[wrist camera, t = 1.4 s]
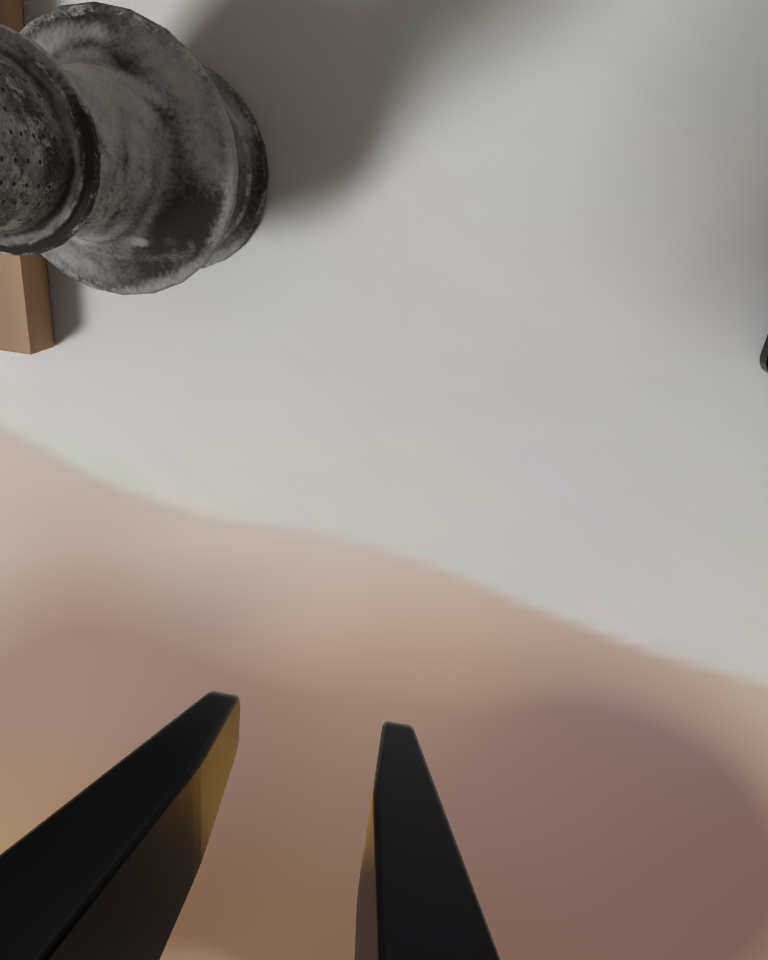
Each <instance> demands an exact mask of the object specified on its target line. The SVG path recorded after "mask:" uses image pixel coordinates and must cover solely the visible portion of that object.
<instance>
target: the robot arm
mask: <svg viewBox="0 0 768 960" xmlns="http://www.w3.org/2000/svg"><path fill="white" fill-rule="evenodd" d="M760 365H761V368H762V369H763V370H764V371H765V372H766V373H768V335H767V338H766V341H765V344H764V346H763V349H762V352H761V355H760ZM239 721H240V700H239V697H238V696H236V695H234V694H228V693H223V692H217V691H212V692H209V693H208V694H206V695H205V696H204V697H202V698H201V699H200V700H198V701H197V702H196V703H194V704H193V705H192V706H191V707H189V708H188V709H187V710H186V711H184V712H183V713H182V714H181V715H179V716H178V717H177V718H175V719H174V720H173V721H171V722H170V723H169V724H168V725H166V726H165V727H164V728H162V729H161V730H160V731H159V732H157V733H156V734H155V735H154V736H152V737H151V738H150V739H148V740H147V741H146V742H144V743H143V744H142V745H141V746H139V747H138V748H137V749H135V750H134V751H133V752H132V753H130V754H129V755H128V756H127V757H125V758H124V759H123V760H121V761H120V762H119V763H117V764H116V765H115V766H114V767H112V768H111V769H110V770H109V771H107V772H106V773H105V774H103V775H102V776H101V777H100V778H98V779H97V780H96V781H94V782H93V783H92V784H91V785H89V786H88V787H87V788H85V789H84V790H83V791H82V792H80V793H79V794H78V795H76V796H75V797H74V798H73V799H71V800H70V801H69V802H67V803H66V804H65V805H64V806H62V807H61V808H60V809H58V810H57V811H56V812H55V813H53V814H52V815H51V816H50V817H48V818H47V819H46V820H44V821H43V822H42V823H41V824H39V825H38V826H37V827H35V828H34V829H33V830H32V831H30V832H29V833H28V834H27V835H25V836H24V837H23V838H21V839H20V840H19V841H17V842H16V843H15V844H14V845H12V846H11V847H10V848H9V849H7V850H6V851H5V852H3V853H2V854H1V855H0V960H160V957H161V955H162V952H163V950H164V948H165V946H166V944H167V941H168V939H169V937H170V934H171V932H172V930H173V928H174V925H175V923H176V921H177V918H178V916H179V914H180V912H181V909H182V907H183V905H184V902H185V900H186V898H187V895H188V893H189V891H190V889H191V886H192V884H193V881H194V879H195V877H196V874H197V872H198V869H199V867H200V864H201V862H202V859H203V856H204V853H205V850H206V847H207V844H208V841H209V838H210V835H211V831H212V828H213V825H214V822H215V819H216V816H217V812H218V809H219V806H220V803H221V800H222V797H223V794H224V790H225V787H226V784H227V781H228V778H229V774H230V771H231V768H232V765H233V762H234V759H235V755H236V752H237V747H238V742H239ZM355 960H500V957H499V955H498V952H497V949H496V947H495V944H494V942H493V939H492V936H491V933H490V931H489V928H488V925H487V923H486V921H485V917H484V915H483V912H482V910H481V907H480V904H479V902H478V899H477V896H476V894H475V891H474V888H473V886H472V883H471V880H470V878H469V875H468V872H467V870H466V867H465V864H464V862H463V859H462V856H461V854H460V851H459V849H458V846H457V843H456V840H455V838H454V835H453V832H452V830H451V827H450V825H449V822H448V819H447V816H446V814H445V811H444V809H443V806H442V803H441V801H440V798H439V795H438V792H437V790H436V787H435V785H434V782H433V780H432V777H431V774H430V771H429V768H428V766H427V763H426V761H425V758H424V755H423V753H422V750H421V747H420V745H419V742H418V739H417V737H416V734H415V731H414V729H413V728H412V727H411V726H410V725H406V724H400V723H395V722H388V721H387V722H385V723H384V724H383V726H382V733H381V739H380V746H379V752H378V759H377V766H376V772H375V778H374V785H373V792H372V798H371V805H370V811H369V818H368V824H367V831H366V838H365V844H364V851H363V857H362V864H361V870H360V878H359V886H358V896H357V911H356V934H355Z"/></svg>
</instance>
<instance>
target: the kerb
mask: <svg viewBox="0 0 768 960" xmlns="http://www.w3.org/2000/svg"><path fill="white" fill-rule="evenodd" d="M0 24H1V25H5V26H7V27H9V28H11V29H13V30H15V31H17V32H20V31H21V30H22V29H23V28H24V21H23V11H22V0H0ZM51 347H54V337H53V327H52V316H51V305H50V295H49V284H48V274H47V263H46V258H44V257H43V256H42V255H41V254H34V255H19V256H12V255H7V254H3V253H0V350H4V351H10V352H17V353H24V354H34V353H37V352H39V351H42V350H45V349H48V348H51Z"/></svg>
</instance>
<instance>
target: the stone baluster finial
mask: <svg viewBox="0 0 768 960" xmlns="http://www.w3.org/2000/svg"><path fill="white" fill-rule="evenodd" d="M267 184H268V167H267V159H266V151H265V146H264V143H263V140H262V137H261V135H260V132H259V129H258V126H257V124H256V121H255V119H254V117H253V116H252V114H251V112H250V111H249V109H248V108H247V106H246V105H245V103H244V102H243V100H242V99H241V97H240V95H239V94H238V93H237V92H236V91H235V90H234V89H233V88H232V87H230V86H229V85H228V84H227V83H226V82H225V81H224V80H223V79H222V78H221V77H220V76H219V75H218V74H216V73H214V72H212V71H210V70H209V69H207V68H205V67H203V66H202V65H201V64H200V62H199V61H198V59H197V58H196V57H195V56H194V55H193V54H192V53H191V52H190V51H189V50H188V49H187V48H186V47H185V46H184V45H183V44H182V43H181V42H180V41H179V40H177V39H176V38H175V37H174V36H173V35H172V34H171V33H170V32H169V31H168V30H167V29H166V28H164V27H162V26H160V25H158V24H156V23H155V22H153V21H151V20H149V19H147V18H145V17H144V16H142V15H140V14H138V13H136V12H134V11H133V10H131V9H127V8H122V7H118V6H113V5H108V4H103V3H98V2H87V3H79V4H71V5H63V6H59V7H57V8H55V9H53V10H51V11H49V12H47V13H45V14H43V15H41V16H39V17H37V18H35V19H33V20H31V21H30V22H29V23H28V24H27V25H26V26H25V27H24V28H23V29H22V30H21V31H20V32H17V31H15V30H13V29H11V28H9V27H7V26H5V25H1V24H0V253H3V254H7V255H12V256H19V255H34V254H41V255H42V256H43V257H44V258H46V259H47V260H48V261H49V262H51V263H52V264H53V265H54V266H55V267H57V268H58V269H59V270H60V271H61V272H63V273H64V274H66V275H68V276H70V277H72V278H74V279H76V280H78V281H80V282H82V283H84V284H86V285H88V286H90V287H92V288H94V289H98V290H103V291H108V292H112V293H117V294H121V295H132V294H149V293H156V292H158V291H161V290H164V289H166V288H169V287H172V286H174V285H177V284H180V283H182V282H184V281H185V280H186V279H188V278H189V277H190V276H191V275H193V274H194V273H195V272H196V271H198V270H199V269H200V268H205V267H207V266H210V265H212V264H215V263H218V262H220V261H223V260H225V259H226V258H228V257H229V256H230V255H232V254H233V253H234V252H235V251H237V250H238V249H239V248H241V247H242V246H243V245H244V243H245V242H246V241H247V239H248V238H249V236H250V235H251V234H252V232H253V231H254V229H255V228H256V227H257V224H258V221H259V219H260V216H261V213H262V211H263V208H264V205H265V203H266V194H267Z"/></svg>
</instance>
